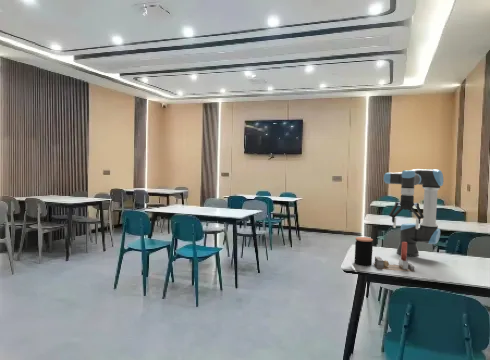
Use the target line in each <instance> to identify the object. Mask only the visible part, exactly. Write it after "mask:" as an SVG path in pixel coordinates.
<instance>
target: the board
mask: <svg viewBox="0 0 490 360" xmlns="http://www.w3.org/2000/svg"><path fill="white" fill-rule="evenodd" d="M384 261H385V260H384V259H382V257H380V256H374V263H373V262H372V265H374V266H375V268H376V269H377V270H385V271H386V270H388V271H399V272H400V271H401V272H402V271H403V272H416V271H415V266H414V264H412V263H410V262H408V269H402V268H401V267H400V266H399V264H389V265H388V266H387V267H384V266H383V262H384Z"/></svg>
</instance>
